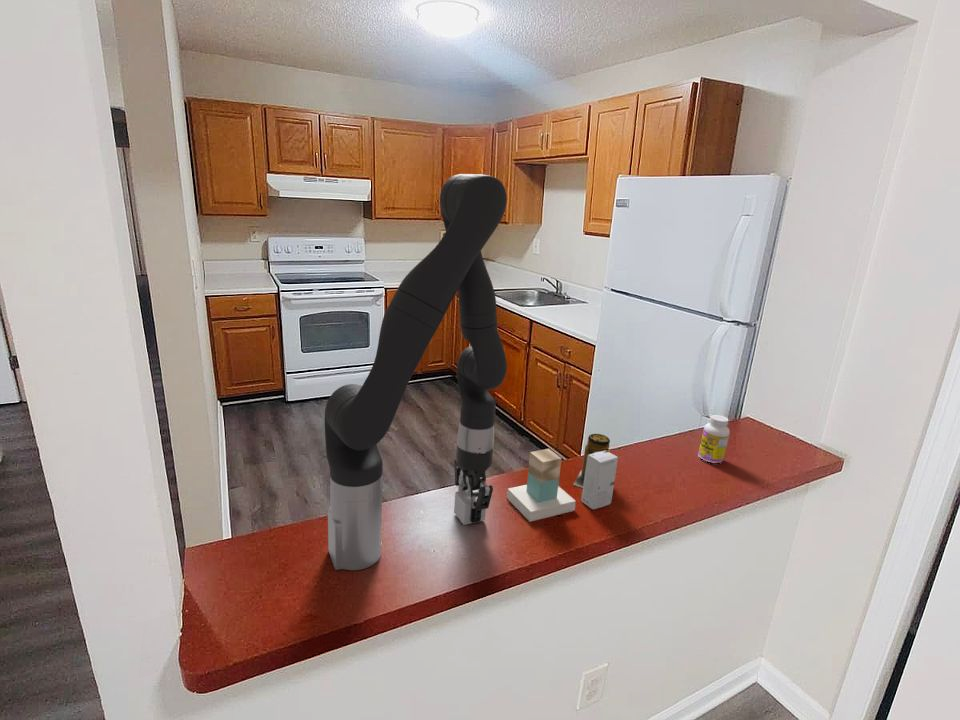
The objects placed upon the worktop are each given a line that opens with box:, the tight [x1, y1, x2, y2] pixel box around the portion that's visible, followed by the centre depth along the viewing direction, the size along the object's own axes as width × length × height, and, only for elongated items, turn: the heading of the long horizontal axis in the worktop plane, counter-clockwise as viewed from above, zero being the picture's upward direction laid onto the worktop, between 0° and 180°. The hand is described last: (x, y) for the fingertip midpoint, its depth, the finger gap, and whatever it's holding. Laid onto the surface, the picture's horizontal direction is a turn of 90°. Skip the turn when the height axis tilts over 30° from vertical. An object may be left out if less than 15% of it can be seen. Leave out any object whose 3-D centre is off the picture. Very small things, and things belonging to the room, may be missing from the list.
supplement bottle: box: [697, 414, 731, 463], centre depth 148 cm, size 7×7×13 cm
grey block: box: [453, 490, 487, 526], centre depth 113 cm, size 5×5×5 cm
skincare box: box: [580, 450, 619, 510], centre depth 122 cm, size 6×4×12 cm
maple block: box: [527, 448, 562, 483], centre depth 118 cm, size 5×5×5 cm
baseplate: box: [506, 484, 577, 523], centre depth 121 cm, size 12×10×2 cm
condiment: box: [573, 433, 611, 489], centre depth 131 cm, size 7×8×12 cm
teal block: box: [526, 472, 560, 503], centre depth 120 cm, size 5×5×5 cm
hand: (469, 514), depth 114 cm, fingers closed on grey block, 5 cm apart
